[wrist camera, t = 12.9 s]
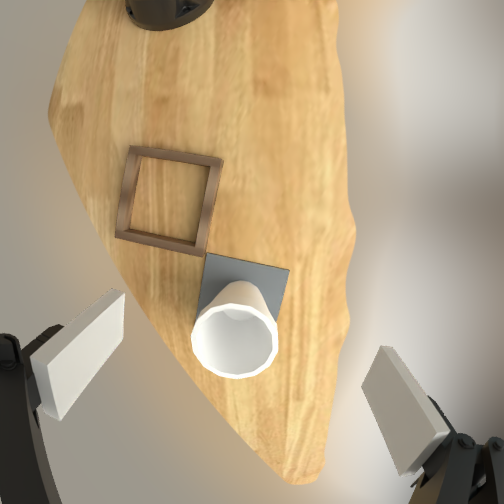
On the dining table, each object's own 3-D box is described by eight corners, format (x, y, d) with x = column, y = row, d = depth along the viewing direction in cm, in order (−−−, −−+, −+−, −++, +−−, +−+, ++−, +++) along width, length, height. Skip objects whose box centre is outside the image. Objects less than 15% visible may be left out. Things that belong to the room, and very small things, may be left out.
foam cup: (220, 334, 44) (207, 384, 32) (200, 279, 43) (178, 315, 30) (280, 320, 44) (287, 367, 31) (264, 262, 42) (266, 293, 29)
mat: (207, 252, 42) (207, 253, 42) (289, 270, 43) (289, 270, 42) (195, 326, 45) (194, 327, 44) (270, 342, 45) (270, 343, 45)
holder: (136, 147, 39) (129, 145, 37) (223, 160, 40) (221, 158, 37) (121, 234, 42) (114, 237, 40) (205, 253, 42) (202, 257, 40)
